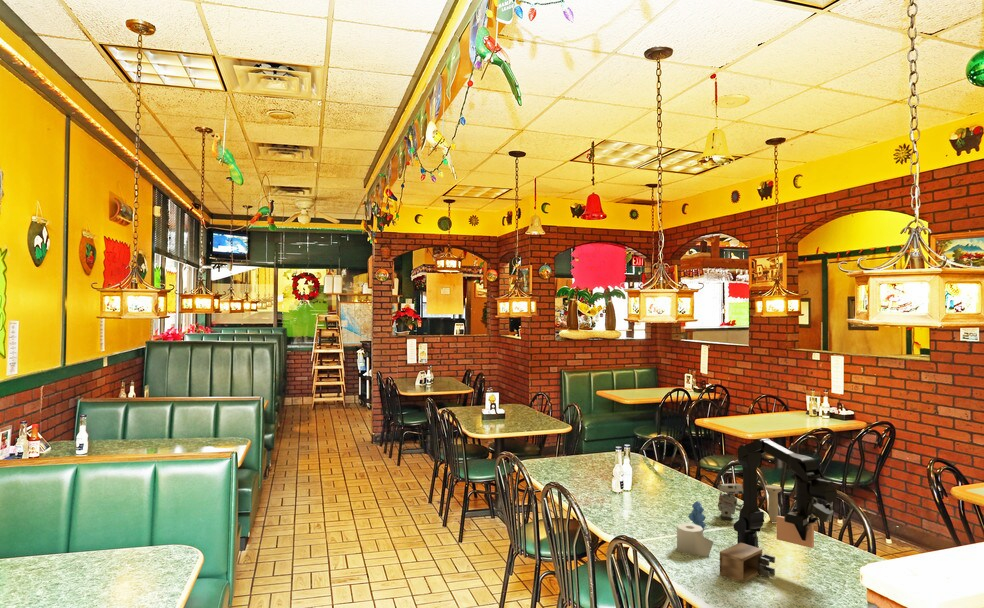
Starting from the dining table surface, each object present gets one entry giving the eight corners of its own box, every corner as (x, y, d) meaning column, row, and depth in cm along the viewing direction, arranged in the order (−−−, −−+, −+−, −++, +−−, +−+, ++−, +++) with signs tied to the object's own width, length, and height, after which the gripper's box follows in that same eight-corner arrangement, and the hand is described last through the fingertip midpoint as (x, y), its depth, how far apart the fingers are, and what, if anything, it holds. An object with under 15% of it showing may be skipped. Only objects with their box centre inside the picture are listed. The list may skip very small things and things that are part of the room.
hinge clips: (758, 574, 207) (758, 556, 207) (765, 570, 210) (764, 553, 210) (768, 577, 204) (768, 560, 204) (774, 574, 207) (774, 556, 207)
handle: (782, 524, 258) (782, 489, 259) (765, 522, 261) (765, 487, 261) (780, 520, 263) (780, 486, 263) (764, 518, 265) (764, 484, 266)
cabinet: (719, 575, 206) (719, 551, 206) (740, 564, 215) (740, 542, 215) (741, 583, 200) (741, 559, 200) (762, 572, 209) (762, 549, 209)
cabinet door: (775, 539, 213) (775, 516, 214) (778, 538, 215) (778, 515, 216) (810, 548, 204) (810, 524, 205) (813, 547, 206) (813, 523, 207)
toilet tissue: (713, 557, 221) (713, 534, 221) (675, 552, 226) (675, 529, 226) (713, 549, 230) (713, 526, 230) (677, 544, 234) (677, 521, 235)
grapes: (684, 526, 255) (684, 497, 255) (700, 526, 254) (700, 498, 255) (692, 536, 243) (692, 506, 243) (708, 536, 243) (709, 506, 243)
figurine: (745, 522, 260) (745, 487, 260) (717, 519, 264) (717, 484, 265) (745, 516, 268) (745, 482, 269) (717, 513, 273) (717, 479, 273)
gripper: (818, 504, 196) (818, 553, 195) (840, 494, 208) (841, 540, 207) (783, 496, 204) (783, 543, 204) (807, 487, 216) (807, 531, 216)
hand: (805, 539), depth 207 cm, fingers closed on cabinet door, 2 cm apart
